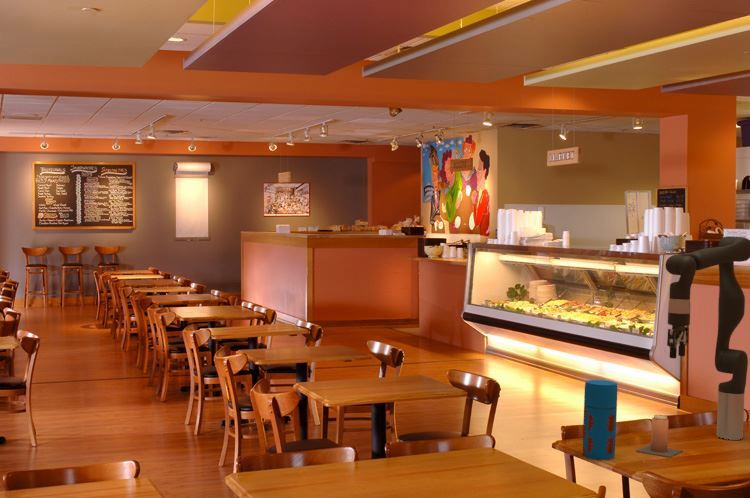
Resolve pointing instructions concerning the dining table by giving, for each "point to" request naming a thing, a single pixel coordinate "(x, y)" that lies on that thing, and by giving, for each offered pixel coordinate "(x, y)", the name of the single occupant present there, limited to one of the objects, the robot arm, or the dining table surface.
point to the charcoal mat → (668, 454)
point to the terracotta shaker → (659, 433)
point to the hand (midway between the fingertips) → (677, 357)
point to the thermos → (600, 419)
